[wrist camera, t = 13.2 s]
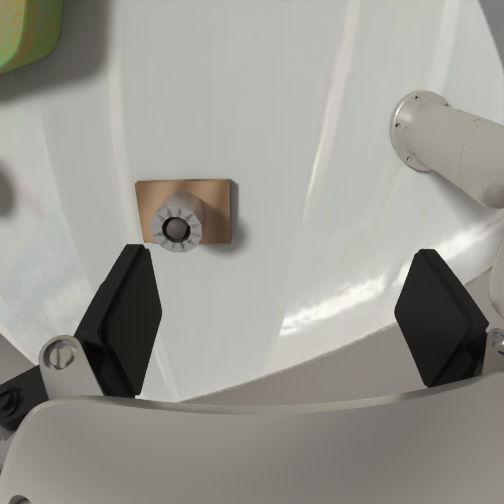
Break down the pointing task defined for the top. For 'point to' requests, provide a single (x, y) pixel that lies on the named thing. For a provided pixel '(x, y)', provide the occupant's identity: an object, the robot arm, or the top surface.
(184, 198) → the steel ring
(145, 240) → the post block
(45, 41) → the first aid kit
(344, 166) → the top surface
